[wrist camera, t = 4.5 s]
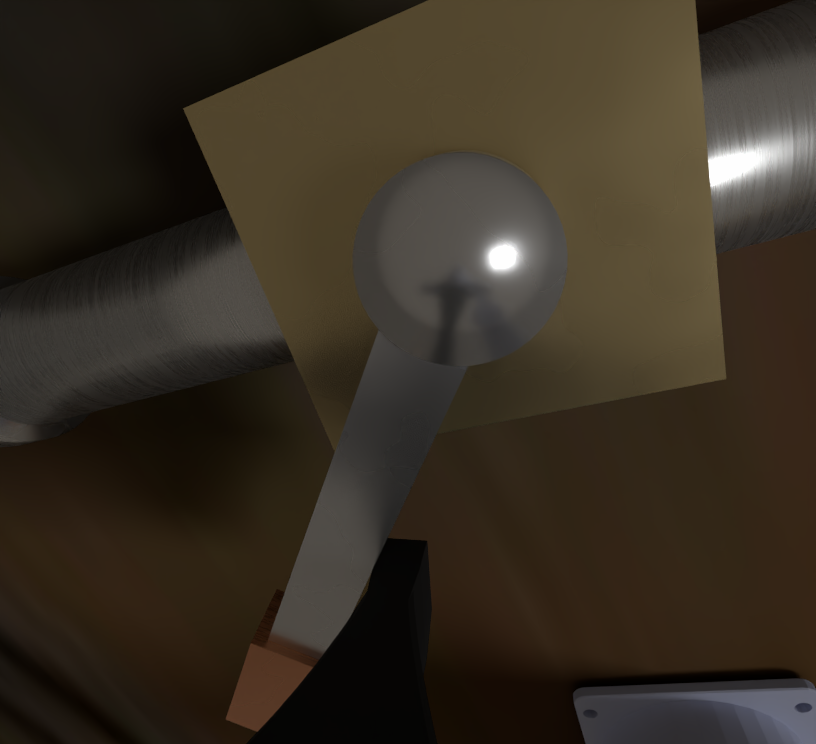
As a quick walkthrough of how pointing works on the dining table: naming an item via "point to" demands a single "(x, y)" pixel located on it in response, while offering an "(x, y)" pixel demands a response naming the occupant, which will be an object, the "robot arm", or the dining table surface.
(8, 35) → the dining table surface
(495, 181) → the lever
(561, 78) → the valve pipe
